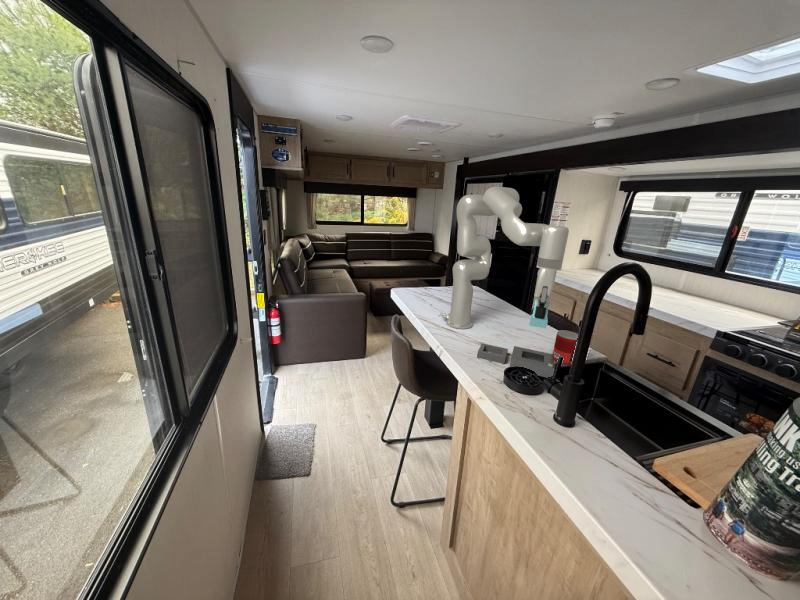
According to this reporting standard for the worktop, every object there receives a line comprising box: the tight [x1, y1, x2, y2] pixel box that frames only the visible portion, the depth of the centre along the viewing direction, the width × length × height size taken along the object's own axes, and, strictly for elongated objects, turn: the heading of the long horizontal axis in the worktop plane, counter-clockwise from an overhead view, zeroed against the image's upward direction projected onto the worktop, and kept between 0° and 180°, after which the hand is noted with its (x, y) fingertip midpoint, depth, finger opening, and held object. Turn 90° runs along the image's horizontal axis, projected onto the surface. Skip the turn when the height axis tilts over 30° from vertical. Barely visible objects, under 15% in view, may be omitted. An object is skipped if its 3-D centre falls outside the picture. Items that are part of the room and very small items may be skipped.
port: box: [509, 345, 556, 379], centre depth 111 cm, size 14×12×5 cm
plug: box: [529, 298, 550, 329], centre depth 106 cm, size 5×4×9 cm
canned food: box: [552, 329, 579, 366], centre depth 117 cm, size 8×8×11 cm
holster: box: [476, 342, 509, 365], centre depth 118 cm, size 10×9×2 cm
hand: (539, 315), depth 107 cm, fingers closed on plug, 3 cm apart
